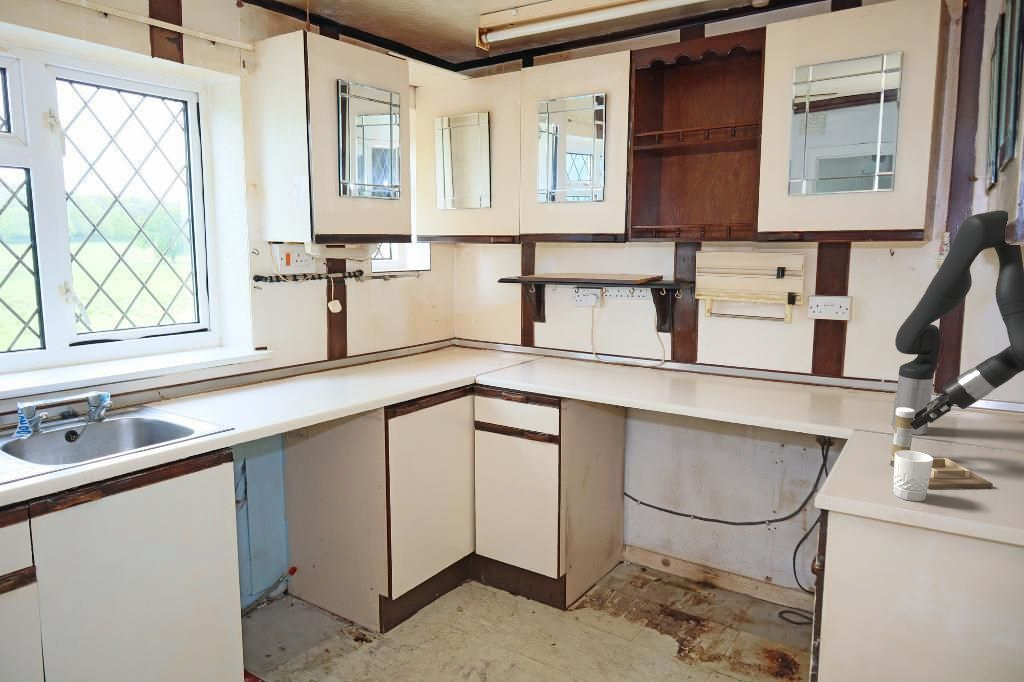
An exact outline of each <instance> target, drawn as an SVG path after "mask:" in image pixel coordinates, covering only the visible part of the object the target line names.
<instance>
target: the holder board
mask: <svg viewBox="0 0 1024 682" xmlns="http://www.w3.org/2000/svg"><path fill="white" fill-rule="evenodd" d="M932 458H933V464H932V470H931V476H930V481H929V486H928V489H927V490H936V489H940V490H943V488H944V490H945V488H947V490H949V489H948V488H950V489H951V488H962V489H989V488H988V487H992V488H993V483H992V482H991V481H989V480H987V479H985V478H983V477H982V476H980V475H978V474H975V473H974V472H972V471H971V470H969V469H968V468H966V467H964V466H962V465H960V464H958V463H957V462H954V461H953V460H951V459H949V458H947V457H932ZM889 466H891V467H892V468H894V460H890V465H889ZM931 488H932V489H931ZM934 488H936V489H934Z"/></svg>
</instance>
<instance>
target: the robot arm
mask: <svg viewBox="0 0 1024 682" xmlns="http://www.w3.org/2000/svg"><path fill="white" fill-rule="evenodd" d="M1008 213H1009V211H1007V210H1004V209H1003V210H1001V209H999V210H992V211H987V212H986V211H985V212H981V213H977V214H973V215H970V216H968V217H967V218H966V219H964V221H963V222H962V223H961V225H960V227H959V229H958V231H957V232H956V235H955V237H954V240H953V241H952V243H951V245H950V248H949V250H948V252H947V255H945V258H944V260H943V262H942V264H941V266H940V267H939V269H938V271H937V272H936V274H935V275H934V277H933V278H932V280H931V281H930V283H929V285H928V286H927V288H926V290H925V292H924V294H923V295H922V297H921V298H920V300H919V301H918V303H917V304H916V305H915V308H914V309H913V311H912V312H910V314H909V315H908V316H907V318H906V319H905V320H904V321H903V323H902V324H901V325H900V327H899V328H898V331H897V333H896V335H895V341H894V342H895V343H894V344H895V347H896V350H897V351H898V352H900V353H901V354H904V355H917V356H916V357H915V358H914V359H913V360H911V361H909V362H906V363H903V364H902V365H900V367H899V369H898V377H897V378H898V379H897V387H896V396H895V397H894V404H893V412H892V413H893V414H892V420H891V422H892V423H891V426H892V428H893V430H894V429H895V423H896V409H897V408H899V407H906V408H911V409H914V410H915V417H914V420H913V421H912V422H911V423H910V425H911V426H912V427H913V432H912V435H918V436H919V435H920V436H921V435H926V434H928V429H929V424H932V423H934V422H935V421H936V420H938V419H940V418H941V417H943V416H944V415H946V414H947V413H949V412H951V410H952V407H953V406H955V405H956V407H958V408H959V409H961V410H965V409H967V408H969V407H970V406H972V405H973V404H975V403H977V402H978V401H980V400H982V399H984V398H985V397H987V396H988V395H989V394H991V393H992V392H993V391H994V390H996V389H997V388H999V387H1001V386H1003V385H1004V384H1005V383H1007V382H1008V381H1010V380H1012V379H1013V378H1015V376H1016V375H1018V374H1020V373H1022V372H1024V261H1023V256H1022V255H1023V254H1022V253H1023V252H1022V250H1021V249H1022V248H1021V244H1020V245H1009V244H1007V243H1006V242H1005V227H1006V224H1007V221H1008ZM993 248H994V250H995V252H996V254H997V259H998V263H999V269H998V270H999V271H998V276H997V281H996V287H995V301H996V303H997V307H998V310H999V313H1000V316H1001V317H1002V318H1001V319H1002V321H1003V323H1004V324H1005V327H1006V332H1007V336H1008V341H1009V346H1007V347H1006V348H1004V349H1003V350H1002V351H1000V352H999V353H997V354H995V355H993V356H990V357H988V358H987V359H985V360H984V361H981V362H980V363H978V364H977V365H975V366H974V367H972V368H970V369H968V370H966V371H964V372H962V373H961V374H960V375H958V376H956V377H955V378H954V379H952V380H951V381H948V382H947V383H946V384H944V385H943V386H942V389H943V391H944V392H943V393H942V394H940V395H939V396H937V397H936V398H934V399H933V400H932V397H933V396H932V395H933V386H934V379H935V378H934V377H935V373H936V371H937V368H938V361H939V357H940V350H941V345H942V334H941V329H940V328H939V326H937V325H935V324H932V323H934V322H936V321H938V320H939V319H942V318H943V317H946V316H947V315H948V314H950V313H952V312H953V311H955V310H956V309H957V308H958V307H960V305H961V304H962V302H963V300H965V298H966V296H967V295H968V293H969V292H970V290H971V287H972V283H973V280H972V273H971V266H972V264H973V263H974V261H975V260H976V258H977V257H978V256H979V255H980V253H982V251H984V250H988V249H993Z"/></svg>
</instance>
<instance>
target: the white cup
mask: <svg viewBox="0 0 1024 682" xmlns="http://www.w3.org/2000/svg"><path fill="white" fill-rule="evenodd" d="M893 457H894V459H893V461H894V467H893V479H892V480H893V488H892V489H893V490H892V491H893V492H892V493H893V494H894V496H895V497H897V498H899V499H900V500H901V499H902V500H905V501H910V502H923V501H926V499H927V495H928V494H927V493H928V490H929V489H928V486H929V481H930V476H931V470H932V464H933V458H934V457H932V456H931V455H929V454H926V453H923V452H920V451H916V450H910V451H908V450H901V451H897V452H895V456H893Z"/></svg>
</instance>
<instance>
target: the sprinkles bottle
mask: <svg viewBox="0 0 1024 682" xmlns="http://www.w3.org/2000/svg"><path fill="white" fill-rule="evenodd" d="M914 417H915V410H914V409H911V408H906V407H899V408H897V409H896V423H895V429H893V430H894V431H893V441H892V451H891V455H892V456H893V457H895V452H897V451H901V450H908V451H911V447H912V438H913V434H912V432H913V427H912V426H911V425H910V423H911V422H912V421H913V420H914Z"/></svg>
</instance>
